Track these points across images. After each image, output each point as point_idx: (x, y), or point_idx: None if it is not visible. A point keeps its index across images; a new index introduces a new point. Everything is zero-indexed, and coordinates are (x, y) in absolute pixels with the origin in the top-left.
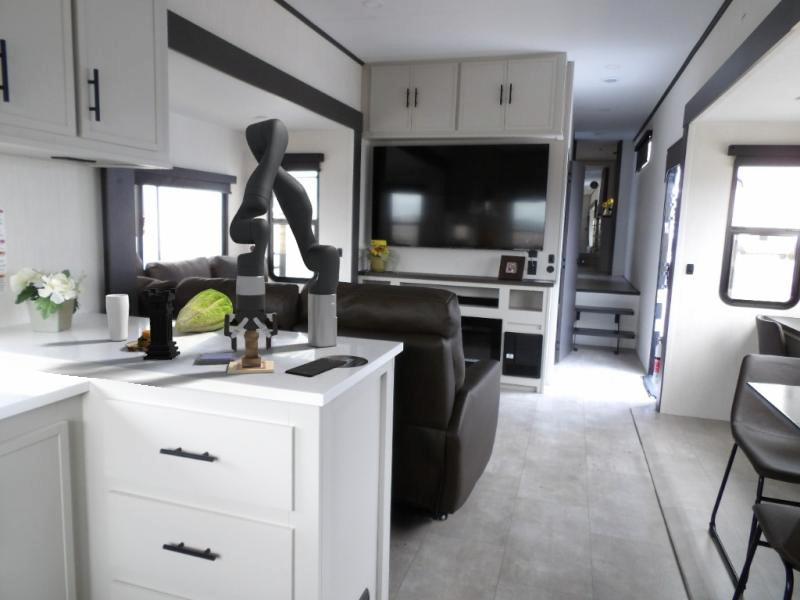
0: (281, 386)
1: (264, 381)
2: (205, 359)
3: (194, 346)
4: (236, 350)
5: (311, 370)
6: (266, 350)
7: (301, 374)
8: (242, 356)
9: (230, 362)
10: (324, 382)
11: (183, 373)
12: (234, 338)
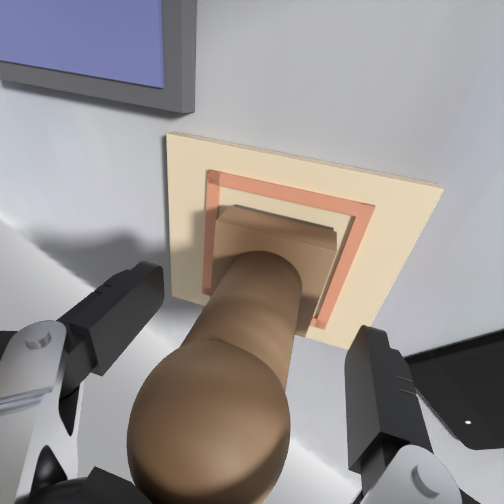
0: (322, 448)
1: (288, 401)
2: (23, 63)
3: None
4: (158, 308)
5: None
6: (349, 359)
7: (444, 420)
8: (213, 251)
9: (169, 150)
10: (468, 487)
11: (32, 222)
12: (86, 366)
